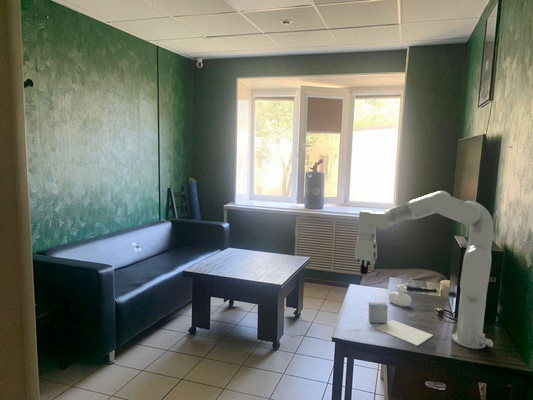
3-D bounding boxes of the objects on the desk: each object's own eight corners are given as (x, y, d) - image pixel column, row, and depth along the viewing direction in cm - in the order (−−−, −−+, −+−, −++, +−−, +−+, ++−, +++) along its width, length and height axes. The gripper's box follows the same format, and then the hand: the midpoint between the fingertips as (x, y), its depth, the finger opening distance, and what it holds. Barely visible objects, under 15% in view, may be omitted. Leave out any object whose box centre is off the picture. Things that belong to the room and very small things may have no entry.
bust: (410, 311, 196) (416, 291, 200) (407, 305, 191) (413, 285, 195) (388, 304, 204) (394, 285, 208) (384, 299, 199) (391, 280, 203)
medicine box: (385, 319, 179) (385, 302, 178) (387, 323, 174) (387, 305, 174) (368, 319, 180) (368, 301, 179) (369, 323, 175) (370, 305, 174)
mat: (432, 336, 164) (433, 335, 164) (417, 346, 155) (417, 345, 155) (392, 320, 179) (392, 319, 179) (375, 328, 170) (375, 328, 170)
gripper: (384, 238, 176) (382, 276, 178) (357, 232, 187) (355, 268, 189) (375, 240, 171) (373, 279, 173) (348, 234, 182) (346, 271, 184)
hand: (363, 273), depth 181 cm, fingers closed
